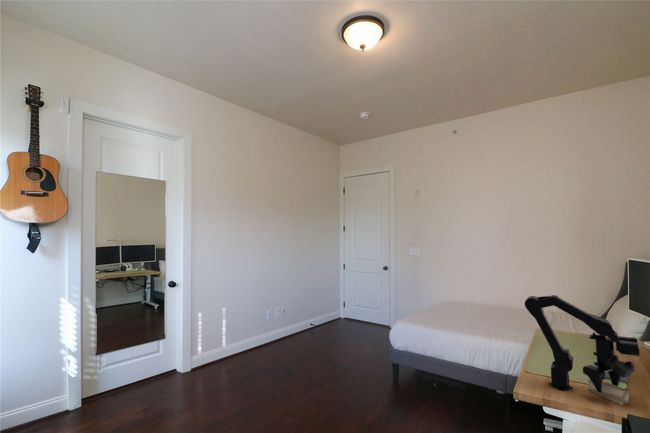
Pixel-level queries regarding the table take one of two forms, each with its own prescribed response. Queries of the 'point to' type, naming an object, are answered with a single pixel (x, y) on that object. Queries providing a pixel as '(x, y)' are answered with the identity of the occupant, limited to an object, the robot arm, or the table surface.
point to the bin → (609, 376)
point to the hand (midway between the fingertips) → (607, 390)
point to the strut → (611, 392)
